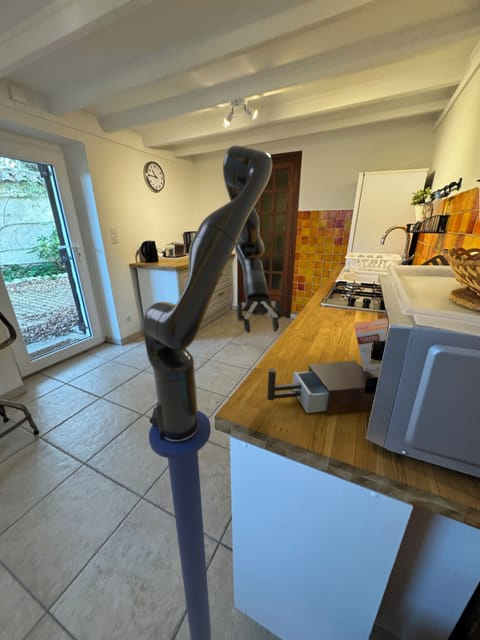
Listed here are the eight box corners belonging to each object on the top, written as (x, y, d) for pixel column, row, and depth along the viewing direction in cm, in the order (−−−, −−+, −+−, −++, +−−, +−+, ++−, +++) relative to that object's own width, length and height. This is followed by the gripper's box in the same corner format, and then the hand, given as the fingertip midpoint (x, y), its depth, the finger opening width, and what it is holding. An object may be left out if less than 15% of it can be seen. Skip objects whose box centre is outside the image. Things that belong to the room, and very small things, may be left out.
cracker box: (368, 391, 76) (355, 333, 69) (365, 378, 81) (352, 322, 74) (423, 387, 71) (415, 323, 63) (416, 373, 76) (408, 312, 68)
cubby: (326, 414, 67) (329, 390, 65) (305, 385, 80) (308, 364, 77) (379, 409, 69) (384, 385, 67) (351, 381, 82) (355, 360, 80)
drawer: (272, 416, 66) (274, 382, 63) (262, 391, 77) (263, 360, 73) (354, 408, 70) (360, 374, 66) (334, 384, 80) (338, 355, 76)
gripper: (235, 281, 80) (241, 327, 74) (278, 279, 82) (288, 325, 76) (233, 293, 87) (238, 337, 80) (273, 292, 89) (281, 334, 82)
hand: (262, 331), depth 78 cm, fingers open, 8 cm apart
